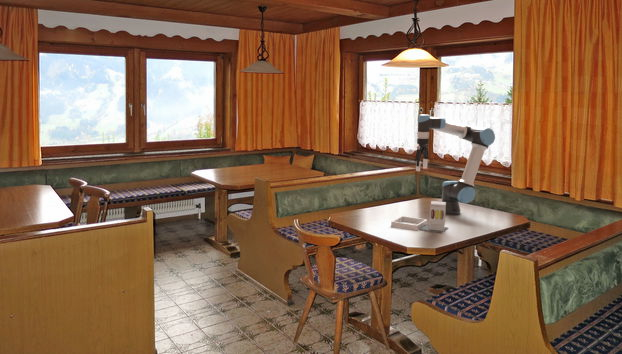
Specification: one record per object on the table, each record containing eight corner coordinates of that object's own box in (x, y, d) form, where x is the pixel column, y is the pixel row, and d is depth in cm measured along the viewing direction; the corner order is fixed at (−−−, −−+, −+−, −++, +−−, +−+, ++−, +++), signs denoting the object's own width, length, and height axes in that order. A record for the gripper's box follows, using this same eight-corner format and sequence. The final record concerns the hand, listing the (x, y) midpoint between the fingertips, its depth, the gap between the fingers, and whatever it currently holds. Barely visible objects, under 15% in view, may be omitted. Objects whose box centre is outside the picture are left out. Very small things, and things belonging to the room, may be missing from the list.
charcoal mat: (427, 225, 349) (427, 224, 349) (448, 228, 342) (448, 227, 341) (419, 230, 337) (419, 229, 337) (441, 233, 330) (441, 232, 330)
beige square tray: (402, 220, 361) (402, 215, 361) (427, 224, 352) (427, 219, 352) (391, 226, 346) (391, 221, 345) (417, 230, 336) (417, 225, 336)
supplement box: (428, 229, 335) (429, 203, 332) (429, 226, 344) (430, 200, 341) (444, 231, 333) (445, 204, 330) (444, 227, 341) (446, 201, 339)
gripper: (424, 136, 365) (422, 167, 368) (410, 139, 344) (409, 171, 348) (434, 137, 361) (433, 168, 365) (421, 139, 340) (420, 172, 344)
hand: (421, 169), depth 356 cm, fingers open, 13 cm apart
